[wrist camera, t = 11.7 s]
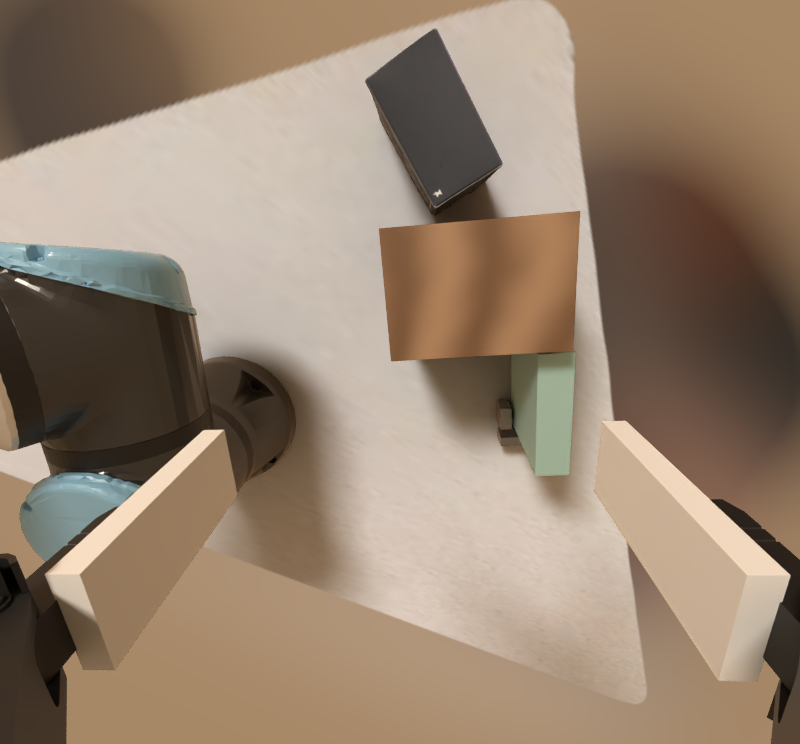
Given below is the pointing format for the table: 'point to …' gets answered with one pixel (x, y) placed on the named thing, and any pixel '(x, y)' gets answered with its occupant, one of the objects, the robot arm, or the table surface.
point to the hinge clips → (506, 425)
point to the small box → (433, 123)
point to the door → (544, 408)
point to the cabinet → (481, 286)
